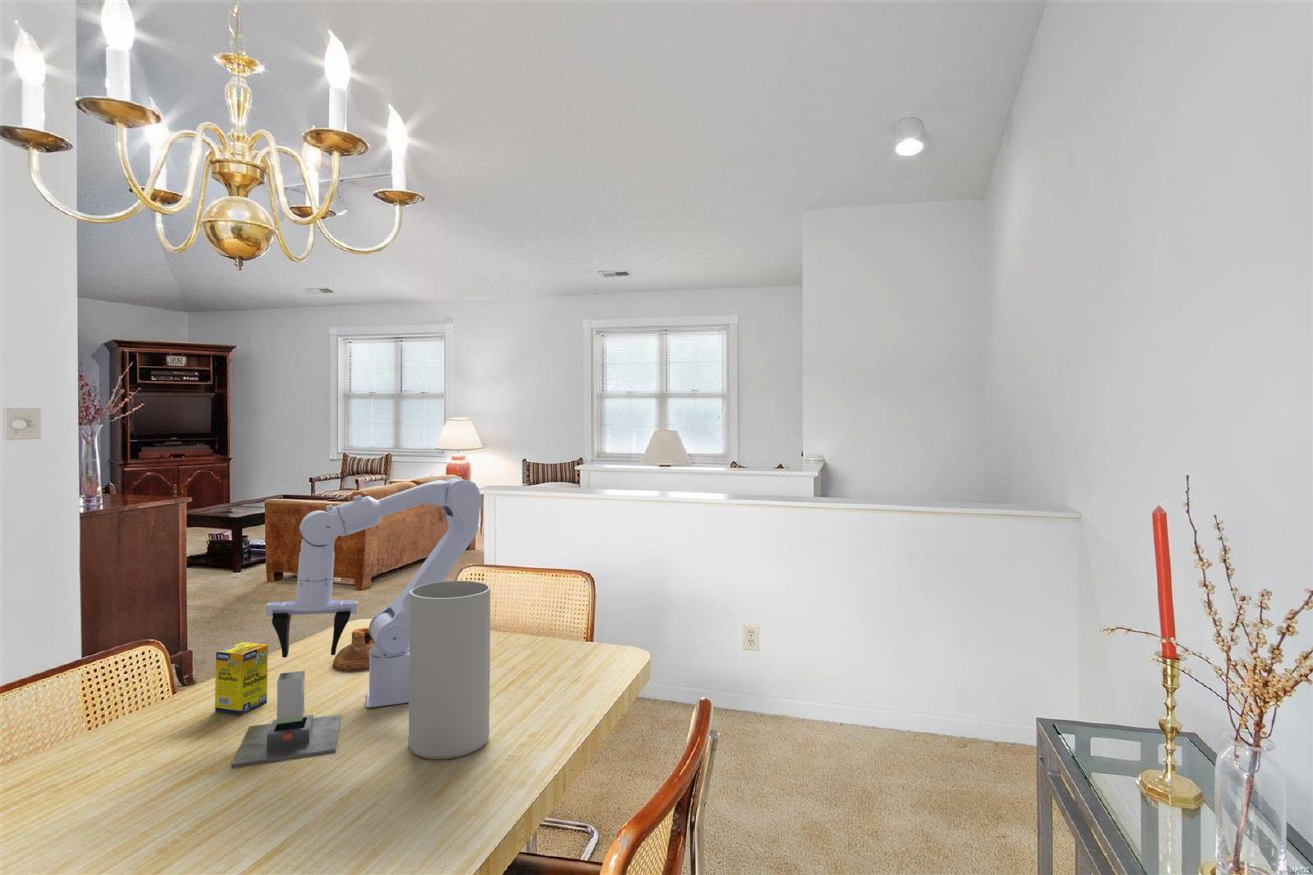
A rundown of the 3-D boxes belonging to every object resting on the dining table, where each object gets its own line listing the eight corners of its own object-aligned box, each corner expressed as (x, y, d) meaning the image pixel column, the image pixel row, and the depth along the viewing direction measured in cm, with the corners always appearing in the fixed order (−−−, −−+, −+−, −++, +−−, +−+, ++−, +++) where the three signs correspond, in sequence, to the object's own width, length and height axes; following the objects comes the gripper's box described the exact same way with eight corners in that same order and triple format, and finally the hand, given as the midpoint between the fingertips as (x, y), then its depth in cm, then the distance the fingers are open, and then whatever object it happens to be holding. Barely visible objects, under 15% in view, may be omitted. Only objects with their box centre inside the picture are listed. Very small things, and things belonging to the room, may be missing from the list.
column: (304, 712, 111) (304, 670, 111) (302, 720, 108) (302, 678, 108) (280, 715, 110) (280, 673, 110) (276, 724, 107) (276, 680, 107)
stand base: (341, 716, 118) (341, 702, 118) (335, 752, 105) (335, 735, 105) (249, 729, 113) (249, 713, 113) (231, 767, 100) (231, 750, 100)
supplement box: (241, 715, 118) (242, 654, 118) (213, 712, 120) (214, 651, 120) (268, 702, 124) (268, 643, 124) (241, 699, 125) (241, 641, 125)
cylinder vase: (503, 732, 113) (505, 584, 112) (458, 767, 101) (460, 601, 101) (441, 721, 117) (442, 578, 117) (391, 753, 105) (392, 594, 105)
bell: (371, 650, 155) (372, 619, 155) (402, 661, 148) (402, 628, 148) (322, 664, 145) (322, 631, 145) (352, 676, 138) (352, 641, 138)
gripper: (360, 573, 126) (354, 646, 126) (272, 574, 121) (266, 650, 121) (358, 581, 120) (353, 657, 119) (266, 582, 114) (260, 662, 114)
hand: (309, 654), depth 120 cm, fingers open, 7 cm apart
